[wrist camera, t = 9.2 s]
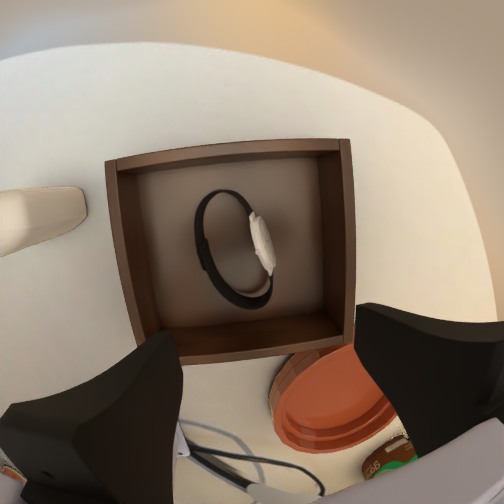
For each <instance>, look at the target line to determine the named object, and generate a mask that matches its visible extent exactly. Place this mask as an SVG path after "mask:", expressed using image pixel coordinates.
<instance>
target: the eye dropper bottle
mask: <svg viewBox="0 0 504 504" xmlns="http://www.w3.org/2000/svg"><path fill="white" fill-rule="evenodd" d="M86 215H87V210H86V205H85V200H84V196H83V192H82V190H81V189H79V188H76V187H46V188H28V189H15V190H6V191H1V192H0V257H3V256H6V255H8V254H11V253H14V252H16V251H19V250H21V249H24V248H27V247H29V246H32V245H35V244H37V243H40V242H43V241H46V240H48V239H51V238H54V237H57V236H60V235H62V234H65V233H67V232H69V231H71V230H72V229H74V228H75V227H76V226H78V225H79V224H80V223H81V222H82V221H83V220H84V219H85V217H86Z"/></svg>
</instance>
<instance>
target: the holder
mask: <svg viewBox="0 0 504 504" xmlns="http://www.w3.org/2000/svg"><path fill="white" fill-rule="evenodd" d="M105 177H106V188H107V198H108V206H109V214H110V222H111V229H112V235H113V242H114V248H115V254H116V259H117V264H118V270H119V275H120V279H121V284H122V289H123V293H124V298H125V302H126V306H127V310H128V314H129V318H130V322H131V326H132V329H133V333H134V337H135V340H136V344H137V347H138V346H140V345H141V344H142V343H143V342H145V341H146V340H147V339H148V338H149V337H151V336H152V335H153V334H155V333H156V332H163V331H173V335H174V340H175V344H176V348H177V352H178V356H179V360H180V364H181V366H184V365H199V364H211V363H222V362H232V361H241V360H249V359H257V358H264V357H271V356H278V355H285V354H291V353H297V352H303V351H308V350H314V349H319V348H324V347H329V346H334V345H339V344H342V343H348V342H352V341H353V328H354V312H355V287H356V221H355V197H354V180H353V167H352V155H351V145H350V139H331V138H309V139H274V140H255V141H241V142H229V143H218V144H209V145H200V146H192V147H184V148H177V149H170V150H163V151H157V152H151V153H145V154H140V155H134V156H129V157H124V158H119V159H116V160H115V159H114V160H109V161H105ZM216 190H232V191H235V192H237V193H239V194H240V195H241V196H243V197H244V198H245V200H246V201H247V202H248V204H249V205H250V206H251V208H252V210H253V211H254V213H255V216H256V217H258V216H260V217H262V219H263V221H264V223H265V225H266V227H267V229H268V232H269V235H270V238H271V241H272V245H273V249H274V254H275V267H273V291H272V296H271V299H270V300H269V302H268V303H267V304H266V305H265V306H264V307H263V308H260V309H257V310H247V309H242V308H240V307H237V306H235V305H233V304H232V303H230V302H229V301H227V300H226V299H225V298H224V297H223V296H222V295H221V294H220V293H219V292H218V291H217V289H216V288H215V287H214V286H213V284H212V282H211V280H210V278H209V276H208V274H207V272H206V271H204V270H203V269H202V267H201V264H200V261H199V258H198V255H197V253H196V252H197V250H196V245H195V234H194V218H195V213H196V210H197V207H198V206H199V204H200V202H201V201H202V199H203V198H204V197H205V196H206V195H208V194H209V193H211V192H212V191H216ZM203 229H204V236H205V239H207V240H208V244H209V249H210V253H211V256H212V258H213V261H214V263H215V266H216V268H217V270H218V272H219V274H220V276H221V277H222V278H223V280H224V281H225V282H226V283H227V284H228V285H229V286H230V287H231V288H232V289H233V290H235V291H236V292H237V293H239V294H241V295H244V296H248V297H258V296H261V295H263V294H264V293H266V292H267V290H268V289H269V287H270V284H271V283H270V278H269V274H268V271H267V270H265V268H264V267H263V265H262V263H261V261H260V259H259V256H258V255H256V253H255V251H256V249H255V247H254V243H253V239H252V234H251V229H250V219H249V217H248V215H247V213H246V210H245V208H244V207H243V205H242V204H241V203H240V202H239V200H238V199H237V198H236V197H234V196H232V195H231V194H228V193H225V192H221V193H218V194H216V195H215V196H214V197H213V198H212V199H211V200H210V201H209V202H208V204H207V206H206V208H205V211H204V216H203Z"/></svg>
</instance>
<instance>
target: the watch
mask: <svg viewBox="0 0 504 504" xmlns="http://www.w3.org/2000/svg"><path fill="white" fill-rule="evenodd" d="M221 192H225V193H228V194H231V195H232V196H234V197H236V198H237V199H238V200H239V202H240V203H241V204H242V205H243V207H244V208H245V210H246V213H247V215H248V217H249V219H250V229H251V234H252V239H253V243H254V247H255V249H256V251H255V253H256V255H258V256H259V259H260V261H261V263H262V265H263V267H264V268H265V270H267V271H268V274H269V278H270V283H271V284H270V287H269V289H268V290H267V292H266V293H264V294H263V295H261V296H258V297H248V296H244V295H241V294H239V293H237V292H236V291H235V290H233V289H232V288H231V287H230V286H229V285H228V284H227V283H226V282H225V281H224V280H223V278H222V277H221V276H220V274H219V272H218V270H217V268H216V266H215V263H214V261H213V258H212V256H211V253H210V249H209V244H208V240H207V239H205V236H204V229H203V216H204V211H205V208H206V206H207V204H208V202H209V201H210V200H211V199H212V198H213V197H214V196H215V195H216V194H218V193H221ZM194 234H195V245H196V250H197V252H196V253H197V255H198V258H199V261H200V264H201V267H202V269H203V270H204V271H206V272H207V274H208V276H209V278H210V280H211V282H212V284H213V286H214V287H215V288H216V289H217V291H218V292H219V293H220V294H221V295H222V296H223V297H224V298H225V299H226V300H227V301H229V302H230V303H232V304H233V305H235V306H237V307H240V308H242V309H247V310H257V309H260V308H263V307H264V306H265V305H266V304H267V303H268V302H269V300H270V299H271V296H272V291H273V267H275V254H274V249H273V245H272V241H271V238H270V235H269V232H268V229H267V227H266V225H265V223H264V221H263V219H262V217H260V216H258V217H256V216H255V213H254V211H253V210H252V208H251V206H250V205H249V204H248V202H247V201H246V200H245V198H244V197H243V196H241V195H240V194H239V193H237V192H235V191H232V190H216V191H212V192H211V193H209V194H208V195H206V196H205V197H204V198H203V199H202V201H201V202H200V204H199V206H198V207H197V210H196V213H195V218H194Z"/></svg>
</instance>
